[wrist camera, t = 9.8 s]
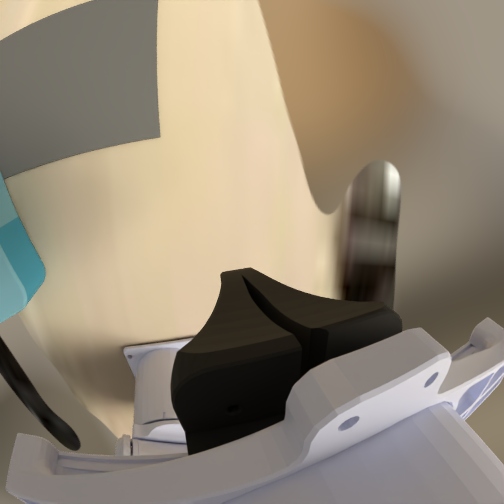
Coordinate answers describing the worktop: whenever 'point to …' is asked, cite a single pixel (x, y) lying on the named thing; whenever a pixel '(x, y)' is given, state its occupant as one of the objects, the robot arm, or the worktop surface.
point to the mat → (78, 83)
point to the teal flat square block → (16, 260)
